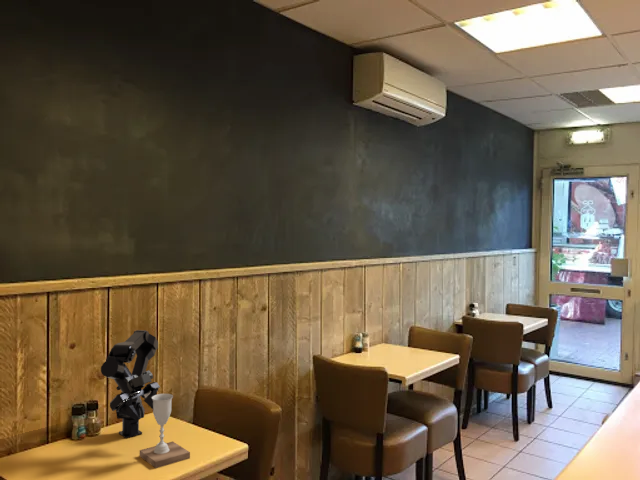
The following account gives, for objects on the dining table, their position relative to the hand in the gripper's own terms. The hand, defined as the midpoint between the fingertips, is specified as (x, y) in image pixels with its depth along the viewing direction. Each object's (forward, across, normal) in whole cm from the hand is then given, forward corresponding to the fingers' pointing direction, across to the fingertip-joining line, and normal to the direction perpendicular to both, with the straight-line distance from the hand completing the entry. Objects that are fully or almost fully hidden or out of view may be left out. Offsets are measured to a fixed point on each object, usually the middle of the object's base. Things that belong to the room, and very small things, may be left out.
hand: (148, 415), depth 185 cm
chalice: (+12, 0, +3) cm, 12 cm away
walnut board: (+14, 0, +4) cm, 15 cm away
